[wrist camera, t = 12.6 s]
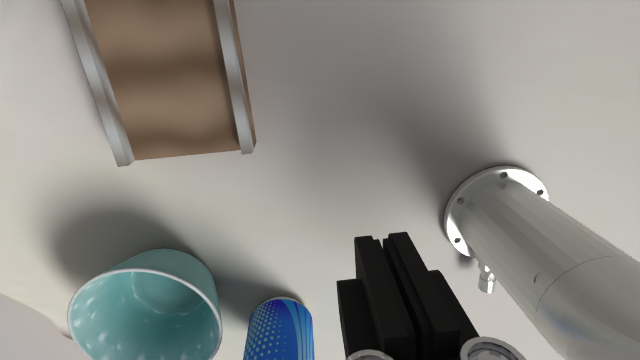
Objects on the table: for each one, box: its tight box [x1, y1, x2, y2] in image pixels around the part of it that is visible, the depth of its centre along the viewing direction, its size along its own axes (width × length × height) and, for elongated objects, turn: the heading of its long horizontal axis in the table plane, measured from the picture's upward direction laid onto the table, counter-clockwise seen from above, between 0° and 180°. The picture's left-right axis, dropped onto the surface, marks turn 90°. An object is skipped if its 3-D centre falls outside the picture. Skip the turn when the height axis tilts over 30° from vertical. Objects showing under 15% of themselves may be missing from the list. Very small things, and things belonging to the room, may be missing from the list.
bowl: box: [67, 249, 222, 360], centre depth 40 cm, size 16×16×8 cm
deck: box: [61, 0, 256, 167], centre depth 30 cm, size 24×13×4 cm, turn 5°
